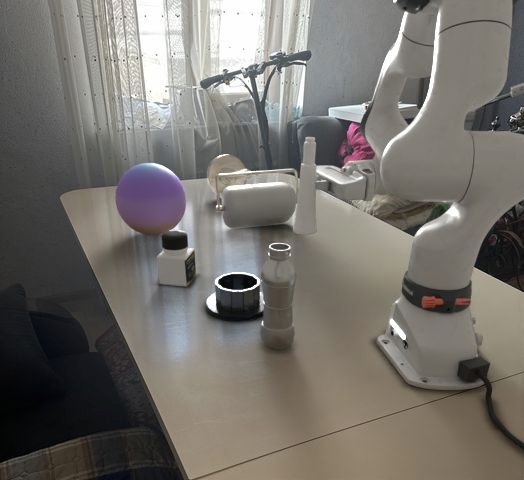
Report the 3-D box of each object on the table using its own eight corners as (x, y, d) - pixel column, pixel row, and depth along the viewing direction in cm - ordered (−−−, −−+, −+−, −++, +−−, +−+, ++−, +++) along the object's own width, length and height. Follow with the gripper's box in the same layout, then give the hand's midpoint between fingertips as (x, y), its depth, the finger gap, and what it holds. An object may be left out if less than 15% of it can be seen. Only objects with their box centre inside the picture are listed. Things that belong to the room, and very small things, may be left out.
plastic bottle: (283, 356, 96) (287, 256, 86) (253, 346, 99) (253, 248, 89) (300, 341, 101) (305, 245, 90) (270, 332, 104) (272, 237, 93)
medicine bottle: (187, 287, 122) (183, 238, 115) (158, 284, 123) (153, 236, 116) (196, 275, 128) (193, 228, 121) (169, 272, 129) (164, 226, 122)
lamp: (194, 224, 185) (222, 232, 149) (186, 157, 178) (214, 148, 141) (264, 216, 193) (307, 222, 156) (259, 152, 185) (304, 143, 149)
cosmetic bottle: (321, 231, 128) (329, 138, 117) (304, 236, 125) (309, 140, 113) (305, 225, 132) (311, 134, 121) (287, 230, 129) (291, 136, 118)
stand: (270, 321, 108) (271, 296, 105) (204, 321, 108) (202, 296, 104) (268, 292, 120) (269, 268, 116) (208, 292, 119) (207, 268, 116)
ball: (116, 226, 158) (107, 158, 147) (181, 220, 164) (175, 154, 153) (124, 249, 142) (114, 175, 131) (195, 241, 148) (190, 169, 137)
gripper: (337, 157, 134) (288, 161, 130) (378, 175, 117) (323, 180, 113) (335, 182, 137) (288, 186, 133) (375, 203, 121) (322, 208, 117)
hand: (304, 183), depth 123 cm, fingers closed on cosmetic bottle
